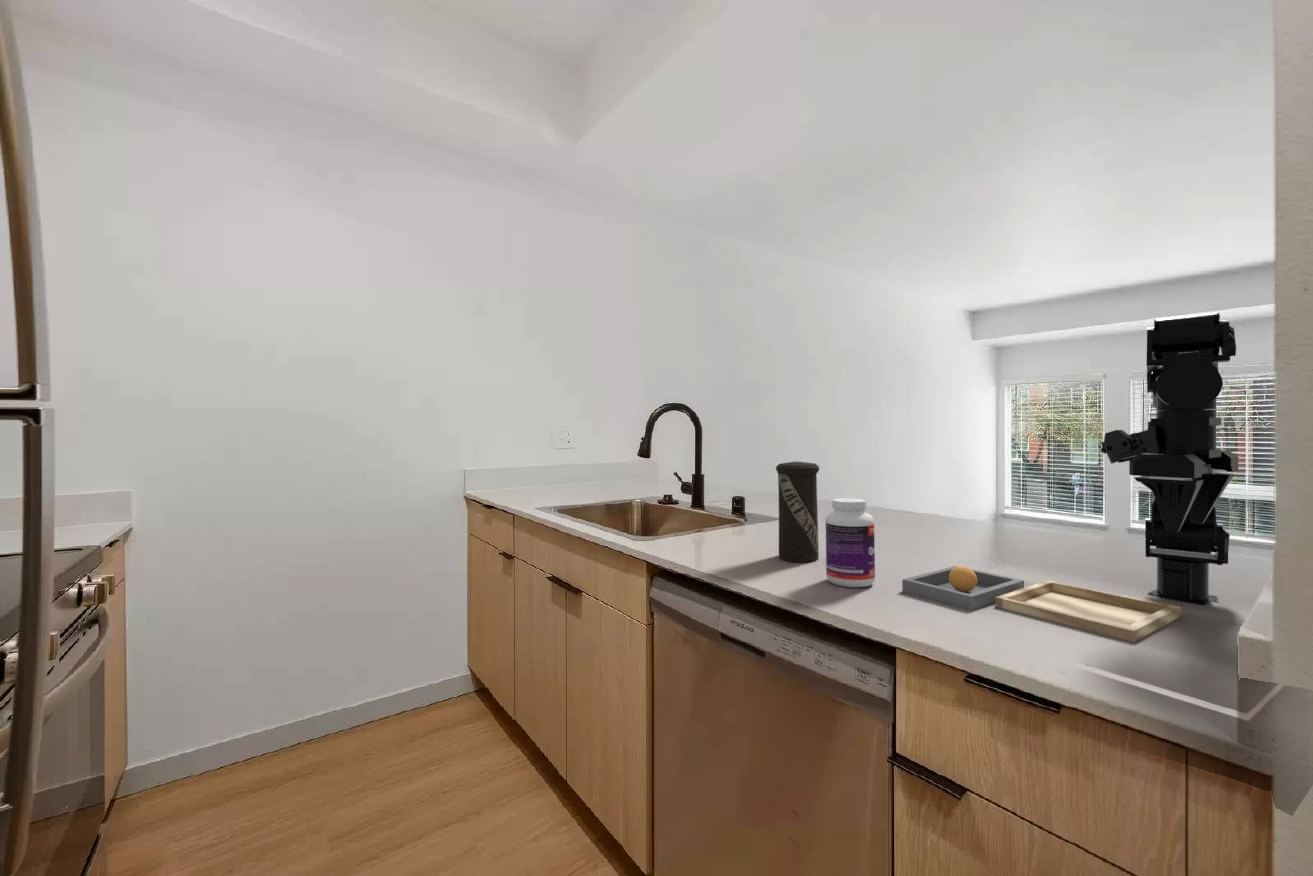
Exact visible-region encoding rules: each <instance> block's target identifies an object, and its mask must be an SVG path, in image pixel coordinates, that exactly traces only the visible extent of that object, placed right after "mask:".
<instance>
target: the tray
mask: <svg viewBox="0 0 1313 876" xmlns="http://www.w3.org/2000/svg"><path fill="white" fill-rule="evenodd" d="M958 566H959V565H955V566H954V565H953V566H950V567H946V568H941V569H938V570H934V571H929V572H925V573H921V574H918V575H917V574H916V575H914V576H910V577H905V578H902V583H901V584H902V588H901V589H902V590H901V591H902V592H904V593H908V594H911V595H915V596H919V597H921V598H922V597H923V598H926V599H928V600H932V601H936V602H941V603H944V604H947V605H951V606H954V607H957V608H962V609H966V610H969V611H974V610H976V609H980V608H981V607H982V608H983V607H986V606H988V605H991V604H995V597H998V596H1001V595H1004V594H1007V593H1010V592H1013V591H1016V590H1019V589H1022V588H1025V580H1024V579H1020V578H1014V577H1010V576H1005V575H1000V574H996V573H992V572H991V573H990V572H986V571H981V570H976V569H973V568H970V569H971V570H972V571H973V572H974V573H975V574H976V576H977V585H976V587H975V588H974V589H973V590H971V591H969V592H961V591H958V590H956V589H954V588H953V587H952V586H951V584H950V582H949V573H950V571H951V570H952V569H953V568H955V567H958Z"/></svg>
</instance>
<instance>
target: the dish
mask: <svg viewBox="0 0 1313 876" xmlns="http://www.w3.org/2000/svg"><path fill="white" fill-rule="evenodd" d="M994 604H995V607H996V608H1000V609H1005V610H1008V611H1011V612H1015V613H1019V614H1024V615H1028V616H1032V617H1035V618H1039V619H1043V620H1046V621H1050V622H1055V623H1058V624H1062V625H1066V626H1071V627H1073V628H1076V629H1077V628H1078V629H1081V630H1082V629H1083V630H1085V631H1089V632H1093V633H1097V634H1101V635H1105V636H1109V637H1112V638H1113V637H1114V638H1117V639H1121V640H1123V641H1128V642H1133V643H1134V642H1136V641H1138V640H1140V639H1142V638H1144V637H1145V636H1147V635H1149V634H1151V633H1153V632H1154V631H1157V630H1158V629H1161V628H1163V627H1165V626H1166V625H1168V624H1169V623H1172V622H1173V621H1175V620H1177V619H1179V618H1181V609H1182V607H1181V606H1178V605H1173V604H1167V603H1163V602H1160V601H1159V602H1158V601H1153V600H1148V599H1143V598H1138V597H1134V596H1129V595H1124V594H1123V595H1122V594H1119V593H1114V592H1108V591H1103V590H1099V589H1094V588H1089V587H1083V586H1079V585H1075V584H1070V583H1066V582H1065V583H1064V582H1060V581H1055V580H1049V579H1047V580H1045V581H1040V582H1038V583H1035V584H1032V585H1029V586H1026V587H1025V586H1024V588H1022V589H1019V590H1016V591H1013V592H1010V593H1007V594H1004V595H1001V596H998V597H995V603H994Z"/></svg>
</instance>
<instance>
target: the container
mask: <svg viewBox="0 0 1313 876" xmlns="http://www.w3.org/2000/svg"><path fill="white" fill-rule="evenodd" d="M775 470H776V473H777V476H778V477H777V480H778V481H777V482H778V557H779V558H780V559H781V560H784V561H787V562H793V563H795V562H796V563H810V562H814V561H817V560H819V556H820V555H819V553H820V551H819V550H820V549H819V522H818V491H817V490H818V485H817V484H818V483H817V481H818V480H817V479H818V477H817V474H818V473H819V471H820V466H819V465H818V464H816V463H815V462H814V463H812V462H807V461H806V462H805V461H789V462H783V463H778V465H776V467H775Z"/></svg>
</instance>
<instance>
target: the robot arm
mask: <svg viewBox="0 0 1313 876" xmlns="http://www.w3.org/2000/svg"><path fill="white" fill-rule="evenodd" d="M1236 344H1237V343H1236V335H1235V327H1232V326H1231V325H1230V321H1228V319H1221V314H1220V313H1219V312H1218V311H1214V312H1204V313H1197V314H1196V313H1195V314H1188V315H1187V314H1186V315H1185V314H1184V315H1177V316H1169V317H1160V318H1159V317H1158V318H1155V319H1154V320H1153V326H1152V327H1147V328H1146V388H1147V389H1146V391H1147V393H1152V405H1153V407H1154V408H1155V409H1156V412H1155V413H1156V417H1155V418H1150V420H1148V422H1147V429H1146V430H1142V431H1139V432H1133V433H1131V434H1128V433H1127V432H1126V431H1124V430H1123V429H1115V430H1112V431H1109V432H1105V433H1104V438H1103V439H1104V440H1103V441H1101V442H1100V444H1101V448H1100V452H1101V453H1102V454H1106V456H1107V458H1108V460H1109V462H1110V464H1115V463H1118V464H1120V463H1125V462H1129V463H1128V464H1129V465H1128V466H1129V472H1128V473H1129V476H1134V480H1135V481H1136V482H1137V483H1141V484H1142V485H1143V486H1145V487H1146V488H1148V489H1149V490H1150V491H1151V492H1152V494H1153V496H1154V499H1153V503H1152V504H1151V517H1145V520H1144V521H1145V526H1144V527H1145V528H1144V529H1145V532H1144V533H1145V536H1144V537H1145V543H1144V544H1145V557H1146V558H1156V588H1155V589H1153V590H1151V591H1149V592H1147V595H1149V596H1153V597H1159V598H1164V599H1168V600H1174V601H1179V602H1183V603H1184V602H1185V603H1189V604H1194V605H1199V606H1206V605H1208V604H1210V603H1215V602H1217V601H1218V600H1219V599H1218V596H1216V595H1211V594H1209V593H1210V592H1209V590H1210V589H1209V586H1210V585H1209V583H1210V581H1209V577H1210V575H1209V573H1210V570H1209V567H1210V566H1209V564H1212V565H1217V566H1223V565H1229V548H1230V547H1229V546H1230V533H1228V532H1227V531H1226V530H1225V527H1224V525H1223V523H1222V522H1221V523H1220V522H1217V510H1216V509H1217V508H1216V507H1215V505H1216V504H1217V503H1218V501H1219V499H1220V497H1221V496H1222V495H1223V493H1224V491H1225V489H1226V488H1227V487H1228V486H1229V484H1230V482H1231V481H1232V479H1233V478H1234V477H1235V473H1232V472H1238V471H1239V456H1238V455H1236V454H1234V452H1232V451H1231V450H1229V449H1228V450H1227V449H1226V450H1225V449H1224V450H1223V449H1222V448H1217V426H1222V417H1219V416H1218V417H1217V397H1219V395H1220V393H1221V391H1222V389H1223V385H1224V384H1223V378H1222V376H1221V374H1220V372H1219V363H1227V362H1228V363H1229V362H1230V360H1231V357H1234V356H1235V357H1236V355H1237V354H1236V353H1237V345H1236ZM1220 351H1221V352H1220ZM1220 353H1221V354H1220ZM1221 471H1226V473H1225V472H1221ZM1227 472H1231V473H1227ZM1152 547H1155V548H1152ZM1212 553H1214V554H1212Z"/></svg>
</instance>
